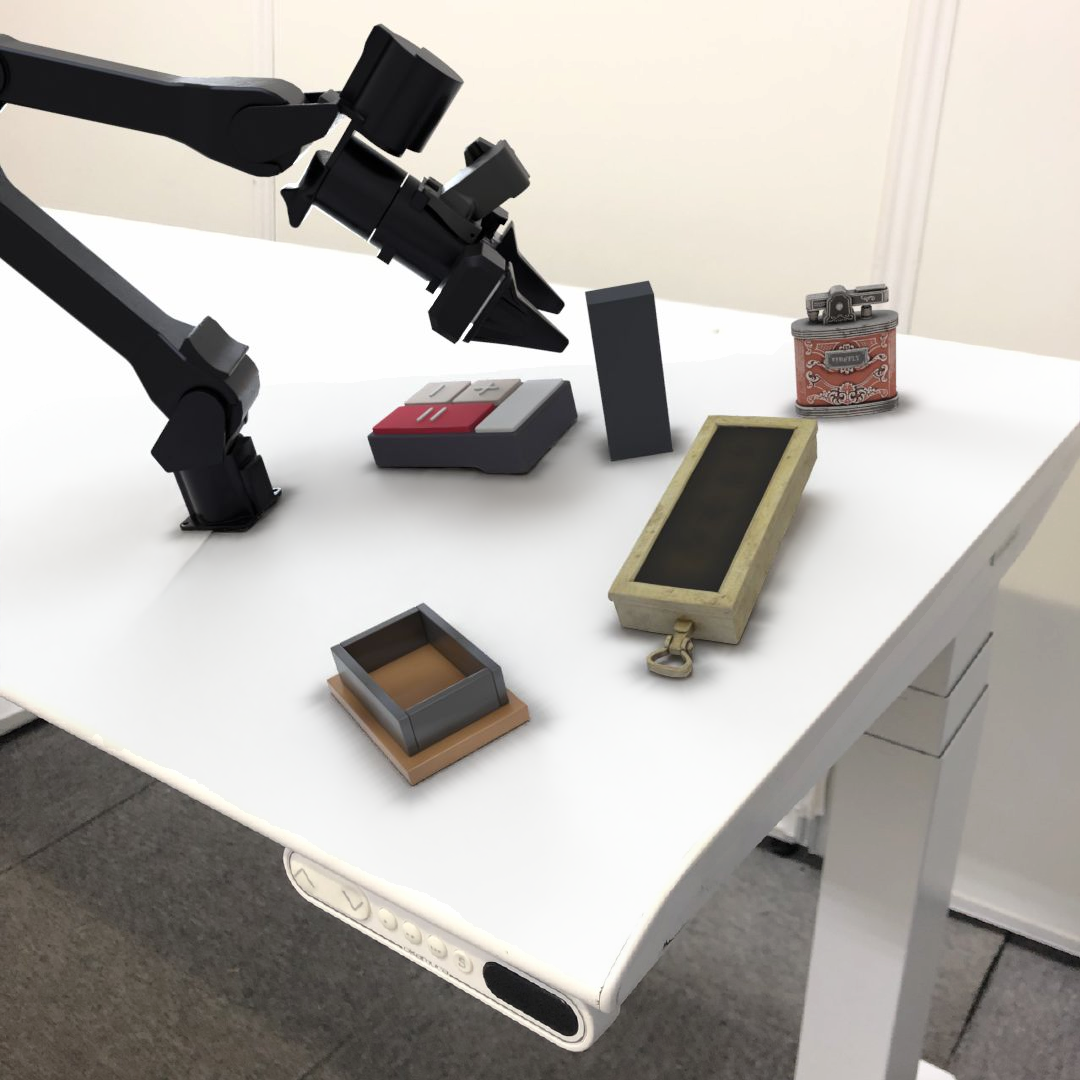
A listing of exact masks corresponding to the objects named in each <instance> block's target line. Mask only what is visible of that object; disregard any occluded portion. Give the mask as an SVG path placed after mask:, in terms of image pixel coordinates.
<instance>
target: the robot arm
mask: <svg viewBox="0 0 1080 1080" xmlns="http://www.w3.org/2000/svg"><path fill="white" fill-rule="evenodd" d="M464 84H465V81H464V79H463V78H462V77H461V76H460V75H459V74H458V73H457V72H456V71H455V70H454V69H453V68H452V67H450V65H448V64H447V63H446V62H445V61H443V60H442V59H441V58H439V56H437V55H435V53H433V52H432V51H431V50H429V49H427V48H426V47H424V46H422V47H419V46H418V45H416V43H413V42H412V41H410V40H409V39H407V38H405V37H403V36H402V35H400V34H398V33H396V32H394V31H392V30H391V29H390V28H389V27H387V26H385V24H383V23H377V24H376V25H373V27H372V29H371V31H370V33H369V34H368V36H367V38H366V39H365V42H364V46H363V49H362V53H361V54H360V57H359V59H358V60H357V62H356V64H355V66H354V68H353V69H352V71H351V73H350V75H349V76H348V78H347V80H346V82H345V84H344V86H343V87H342V89H341V90H335V89H333V88H329V89H328V90H324V91H323V90H322V91H303V90H302V89H301V88H300V87H298V86H297V85H295V83H292V82H290V81H287V80H285V79H283V78H277V77H260V76H259V77H256V76H254V77H253V76H200V77H199V76H180V75H176V74H171V73H167V72H162V71H159V70H158V71H157V70H154V69H149V68H144V67H140V66H134V65H130V64H126V63H121V62H116V61H113V60H107V59H103V58H99V57H94V56H89V55H85V54H80V53H76V52H70V51H67V50H61V49H58V48H54V47H53V48H52V47H48V46H44V45H40V44H34V43H30V42H25V41H21V40H19V39H17V38H14V37H13V36H11V35H8V34H5V33H0V114H1V113H2V112H3V111H4V110H5V109H6V108H7V106H8V105H9V104H10V105H14V106H18V107H24V108H28V109H31V110H37V111H42V112H46V113H51V114H56V115H61V116H65V117H69V118H76V119H79V120H85V121H89V122H94V123H98V124H104V125H109V126H113V127H118V128H123V129H127V130H131V131H137V132H140V133H146V134H150V135H154V136H155V135H156V136H160V137H163V138H168V139H170V140H173V141H175V142H178V143H180V144H183V145H185V146H186V147H188V148H189V149H192V150H193V151H195V152H197V153H198V154H200V155H202V156H203V157H205V158H207V159H209V160H212V161H214V162H217V163H219V164H221V165H224V166H227V167H229V168H232V169H234V170H237V171H239V172H241V173H245V174H247V175H251V176H253V177H257V178H271V177H277V176H279V175H281V174H283V173H284V172H286V171H287V170H289V169H290V168H291V167H293V165H295V164H296V163H297V162H298V161H299V160H300V159H301V158H302V157H304V156H305V155H306V154H307V153H308V151H309V149H310V148H311V146H312V145H313V144H314V142H317V141H319V140H321V139H323V138H325V137H326V136H327V135H328V134H330V133H331V132H332V131H333V130H334V129H335V128H336V127H337V126H338V125H339V124H341V122H343V121H344V120H345V118H348V119H350V122H349V123H348V125H347V126H346V128H345V130H344V132H343V133H342V135H341V137H340V139H339V140H338V143H337V144H336V146H335V147H334V149H333V151H330V150H327V149H323V148H322V149H319V148H318V149H317V150H316V151H315V152H314V154H313V156H312V157H311V159H310V161H309V162H308V164H307V166H306V168H305V170H304V171H303V173H302V176H301V177H300V179H299V180H298V182H292V183H286V184H285V185H284V186H283V187H282V188H281V189H280V191H279V194H280V196H281V198H282V199H283V201H284V203H285V206H286V213H287V217H288V225H289V226H290V227H291V228H293V229H298V228H299V227H301V225H302V224H303V222H305V220H306V219H307V217H309V214H310V213H311V212H312V210H313V208H315V209H317V210H319V211H320V212H321V213H323V214H325V216H328V217H329V218H331V219H332V220H334V221H335V222H336V223H338V224H340V225H341V226H343V227H344V228H346V229H347V230H349V231H350V232H352V233H353V234H355V235H356V236H358V237H359V238H361V239H362V240H364V241H365V242H367V243H368V244H370V245H371V246H373V247H374V248H375V249H377V250H379V251H378V253H377V256H376V258H377V259H378V260H380V261H381V262H382V263H384V264H386V265H388V266H389V265H390V263H391V262H392V260H393V261H395V262H397V263H398V264H400V265H402V267H404V268H406V269H407V270H409V271H410V272H412V273H413V274H415V275H417V277H419V278H421V279H422V280H424V281H426V285H425V289H424V290H425V291H427V292H428V293H429V294H431V295H432V296H431V298H430V301H429V305H428V309H427V314H428V319H429V324H430V327H431V330H432V331H433V332H435V333H436V334H438V335H439V336H441V337H443V338H444V339H445V340H447V341H449V342H450V343H452V344H453V345H456V344H457V343H458V342H459V341H460V339H461V342H463V343H466V344H469V343H471V342H476V343H486V344H487V343H488V344H496V345H502V346H503V345H504V346H512V347H518V348H525V349H532V350H537V351H538V350H539V351H545V352H551V353H555V354H556V353H557V354H561V353H563V352H564V351H566V349H567V347H568V346H569V344H570V340H569V338H568V337H567V336H566V335H565V334H564V333H563V332H562V331H561V330H560V329H559V328H558V327H557V326H556V325H555V324H554V323H553V322H551V321H550V320H549V319H548V318H547V317H546V316H545V315H544V314H543V313H542V312H546V313H549V314H553V315H560V313H561V312H562V311H563V309H564V308H565V306H566V303H565V301H564V300H563V299H562V297H561V296H560V295H559V294H558V293H557V291H555V289H553V288H552V286H551V285H550V284H549V283H548V282H547V281H546V279H544V278H543V276H542V275H541V274H540V273H539V272H538V271H537V269H535V268H534V266H533V265H532V264H531V263H530V262H529V260H527V258H526V257H525V256H524V255H523V254H522V252H521V251H520V249H519V246H518V239H517V234H516V228H515V227H516V226H515V222H514V220H513V219H511V220H510V221H509V212H508V211H507V210H506V209H505V208H503V207H501V205H503V204H504V203H505V202H507V201H508V200H510V199H516V198H517V197H518V196H520V195H521V194H522V193H524V192H525V191H526V190H527V189H528V188H529V187H530V185H531V181H530V178H531V175H530V173H529V172H528V170H527V169H526V167H525V166H524V165H523V163H522V162H521V160H520V158H519V157H518V156H517V154H516V151H515V149H514V148H512V147H511V145H510V144H509V143H508V141H507V140H506V139H500V140H498V141H497V142H496V144H494V143H492V142H491V141H490V140H487V139H485V138H483V137H482V136H478V137H477V138H476V139H474V141H472V142H471V143H470V144H467V146H466V147H464V150H463V157H464V162H465V167H464V168H462V169H460V170H459V171H458V172H457V173H456V175H455V176H453V177H452V178H451V179H450V180H448V181H447V182H446V183H444V184H443V183H441V182H440V181H439V180H437V179H435V178H434V177H433V176H428V177H427V178H426V177H425V176H423V177H422V178H421V180H420V179H418V178H417V177H415V176H414V175H412V173H411V174H410V173H409V172H408V171H406V170H405V169H404V168H402V167H400V166H399V165H397V164H396V163H395V162H393V161H392V160H391V159H389V158H387V157H386V156H385V155H383V154H382V153H380V152H379V151H377V150H376V149H375V148H374V147H372V146H370V145H369V144H368V143H366V142H364V140H362V139H360V138H359V137H357V136H356V135H355V134H356V133H358V134H360V135H361V136H362V137H364V138H365V139H366V140H367V141H368V142H370V143H371V144H372V145H374V146H375V147H376V148H378V149H380V150H382V151H383V152H385V153H387V154H388V155H391V156H393V157H395V158H399V159H401V158H402V157H403V155H404V154H405V152H406V151H407V150H408V151H411V152H413V153H416V154H421V153H423V151H424V150H425V148H426V146H427V145H428V143H429V141H430V140H431V138H432V136H433V135H434V133H435V131H436V130H437V128H438V126H439V125H440V123H441V121H442V120H443V118H444V117H445V115H446V113H447V112H448V110H449V108H450V106H451V105H452V103H453V101H454V100H455V98H456V97H457V95H458V93H459V92H460V90H461V89H462V88H463V85H464ZM508 221H509V222H508ZM507 222H508V223H507ZM506 224H507V225H506ZM505 225H506V227H505V228H504V230H503V231H502V233H500V232H498V229H499V228H500V226H505ZM0 260H2V261H3V262H4V263H5V264H7V265H8V266H9V267H10V268H12V269H13V270H14V271H15V272H16V273H18V275H20V276H21V277H22V278H24V279H25V280H26V281H27V282H29V283H30V284H31V285H33V286H34V287H35V288H36V289H37V290H39V291H40V292H41V293H43V294H44V295H45V296H46V297H48V298H49V299H50V300H51V301H52V302H53V303H55V304H56V305H57V306H59V307H60V308H61V309H62V310H64V311H65V312H66V313H67V314H69V315H70V316H71V318H74V320H76V321H77V322H78V323H80V325H82V326H83V327H85V328H86V329H87V330H89V332H90V333H92V334H93V335H94V336H96V337H97V338H98V339H99V340H101V341H102V342H103V343H104V344H105V345H107V346H108V347H109V348H110V349H112V350H113V351H114V352H116V353H117V354H118V355H120V356H121V357H122V359H124V360H126V362H128V363H129V365H130V366H131V368H132V369H133V371H134V373H135V375H136V377H137V378H138V380H139V382H140V384H141V385H142V387H143V388H144V391H145V393H146V394H147V397H148V398H149V400H150V401H151V402H152V403H153V404H154V405H155V407H156V408H157V409H158V410H159V411H160V412H161V413H162V415H164V417H166V419H168V421H167V422H166V424H165V426H164V427H163V429H162V431H161V432H160V434H159V436H158V438H157V439H156V441H155V443H154V444H153V446H152V447H151V448H150V449H151V450H150V454H151V456H152V458H153V459H154V460H155V461H156V462H157V463H158V464H159V466H160V467H161V468H162V470H163V471H164V472H166V474H171V473H173V476H174V478H175V481H176V484H177V486H178V489H179V491H180V494H181V496H182V500H183V502H184V504H185V507H186V509H187V512H188V516H187V517H186V519H184V520H183V521H182V522H181V523H180V524H179V528H180V531H182V532H216V531H217V532H224V531H226V532H227V531H228V532H230V531H231V532H232V531H233V532H235V531H237V532H238V531H239V532H240V531H246V530H248V529H249V528H250V527H251V526H252V525H253V524H254V523H255V522H256V521H257V520H258V519H259V518H260V517H261V516H262V515H263V514H264V513H265V512H266V511H267V510H268V509H270V507H271V506H272V505H273V504H274V503H275V502H276V501H277V500H278V499H279V498H280V497H281V496H282V495H283V491H282V488H281V487H273V485H272V482H271V479H270V476H269V474H268V470H267V468H266V465H265V462H264V459H263V456H262V455H261V454H259V453H257V450H256V447H255V444H254V441H253V438H252V436H251V435H244V434H243V433H241V431H242V429H243V428H244V426H245V425H246V424H247V423H248V422H249V411H250V409H251V408H252V406H253V405H254V403H255V401H256V399H257V398H258V397H259V394H260V388H261V379H260V374H259V373H260V371H259V368H258V367H257V364H256V362H255V361H254V360H253V359H252V358H251V357H250V356H249V355H248V354H247V353H248V351H249V350H250V346H249V345H247V344H245V343H243V342H240V341H238V340H236V339H235V338H233V337H232V336H231V335H230V334H229V333H228V332H227V331H226V330H225V329H224V328H223V327H222V326H221V324H219V322H218V321H217V320H216V319H214V318H213V317H212V316H211V315H209V314H206V315H205V316H203V318H202V319H201V320H200V321H199V322H198V323H197V324H196V325H194V324H190V323H188V322H184V321H182V320H179V319H176V318H175V317H172V316H171V315H170V314H168V313H166V312H165V311H164V310H163V309H161V307H159V306H158V305H157V304H156V303H155V302H153V300H151V299H150V298H149V297H148V296H146V295H145V294H144V293H142V291H140V290H139V289H138V288H137V287H135V286H134V285H133V284H132V283H131V282H130V281H129V280H127V279H126V278H125V277H123V276H122V275H121V274H120V273H119V272H118V271H116V270H115V269H114V268H113V267H111V265H110V264H108V263H107V262H105V260H104V259H102V258H101V257H100V256H99V255H97V254H96V253H95V252H94V251H93V250H92V249H90V248H89V247H88V246H87V245H86V244H84V243H83V242H82V241H80V239H79V238H78V237H76V236H75V235H74V234H72V233H71V232H70V231H69V230H67V229H66V228H65V227H64V226H63V225H62V224H60V223H59V221H57V220H56V219H55V218H53V216H51V215H50V214H49V213H47V212H46V211H45V210H44V209H43V208H41V206H39V205H38V204H37V203H35V202H34V201H33V200H32V199H30V197H28V196H27V194H24V192H22V191H21V190H20V189H19V188H18V187H16V186H15V184H13V182H12V181H11V180H10V179H9V177H8V176H7V174H6V172H5V171H4V169H3V167H2V165H1V164H0ZM541 311H542V312H541Z"/></svg>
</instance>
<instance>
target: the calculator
mask: <svg viewBox="0 0 1080 1080" xmlns="http://www.w3.org/2000/svg"><path fill="white" fill-rule="evenodd" d="M577 419H578V411H577V406H576V401H575V396H574V392H573V388H572V383H571V380H568V379H567V380H566V379H565V380H564V379H563V378H543V379H528V380H525V381H522V379H521V378H517V377H516V378H498V379H478V380H475V381H474V382H473V383H472V381H471V380H457V381H456V380H455V381H454V380H453V381H435V382H434V381H433V382H428V383H427V384H425V385H424V386H423V387H421V388H420V389H419V390H418V391H417V392H415V393H414V394H412V395H411V396H410V397H409V398H407V400H405V401H404V402H403V405H400V406H398V407H396V408H395V409H394V410H393V411H392V412H390V413H389V414H387V415H386V416H385V417H383V418H382V419H381V420H380V421H378V422H377V423H376V424H375V425H373V427H372V429H371V430H372V431H371V432H370V433H369V434H367V437H366V438H367V441H368V443H369V447H370V450H371V454H372V456H373V459H374V463H375V465H376V467H378V468H477V469H479V470H481V471H483V472H484V473H486V474H525V473H528V472H529V471H530V470H531V469H532V467H534V465H535V464H537V462H538V461H539V460H540V459H541V458H542V457H543V456H544V455H545V454H546V453H547V451H548V450H550V448H552V446H553V445H554V444H555V443H556V442H557V441H558V440H559V439H560V438H561V436H562V435H563V434H564V433H565V432H566V431H567V430H568V429H569V428H570V427H571V426H572V424H573V423H575V421H577Z"/></svg>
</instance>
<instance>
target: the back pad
mask: <svg viewBox="0 0 1080 1080" xmlns="http://www.w3.org/2000/svg"><path fill="white" fill-rule="evenodd" d="M584 295H585V302H586V310H587V315H588V316H587V317H588V322H589V328H590V335H591V341H592V348H593V355H594V361H595V368H596V372H597V373H596V375H597V380H598V386H599V387H598V388H599V393H600V399H601V406H602V413H603V420H604V425H605V426H604V427H605V432H606V439H607V445H608V450H609V456H610V457H609V458H610V461H611V462H613V461H619V460H620V461H621V460H625V459H631V458H638V457H644V456H650V455H657V454H661V453H669V452H673V451H674V448H673V441H672V431H671V424H670V416H669V415H670V414H669V407H668V400H667V399H668V397H667V391H666V390H667V389H666V382H665V373H664V366H663V365H664V364H663V357H662V349H661V348H662V347H661V340H660V332H659V325H658V324H659V323H658V316H657V307H656V298H655V293H654V290H653V287H652V284H651V281H650V280H644V281H638V282H633V283H626V284H621V285H613V286H609V287H604V288H598V289H592V290H586V291H584Z"/></svg>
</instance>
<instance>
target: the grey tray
mask: <svg viewBox="0 0 1080 1080" xmlns="http://www.w3.org/2000/svg"><path fill="white" fill-rule="evenodd" d="M329 649H330V652H331V655H332V658H333V661H334V664H335V667H336V670H337V674H335V675H333V676H331V677H329V678H327V679H326V682H327V685H328V689H329V691H330V693H331V694H332V695H333V696H334V698H335V699H336V700H337V701H338V702H339V704H340V705H341V706H342V707H343V708H344V709H345V710H346V711H347V713H348V714H349V715H350V716H351V717H352V718H353V720H354V721H355V722H357V724H358V725H359V726H360V728H361V729H362V730H363V731H364V732H365V733H366V735H367V736H368V737H369V738H370V740H372V741H373V743H374V744H375V745H376V746H377V747H378V748H379V750H380V751H381V752H382V753H383V754H384V755H385V756H386V757H387V759H388V760H389V761H390V763H392V765H393V766H394V767H395V768H396V769H397V770H398V771H399V773H400V774H401V775H402V776H403V777H404V778H405V780H406V781H407V782H408V783H409V784H410V785H411V786H415V785H416V784H418V783H420V782H421V781H423V780H425V779H427V778H428V777H431V776H432V775H434V774H436V773H437V772H439V771H441V770H443V769H444V768H446V767H448V766H450V765H451V764H453V763H455V762H457V761H458V760H460V759H462V758H464V757H465V756H467V755H469V754H471V753H473V752H475V751H476V750H479V749H480V748H481V747H483V746H485V745H487V744H489V743H490V742H492V741H493V740H496V739H497V738H499V737H501V736H502V735H504V734H506V733H508V732H510V731H512V730H513V729H515V728H517V727H518V726H520V725H522V724H524V723H526V722H527V721H529V720H531V716H530V712H529V706H528V705H527V704H526V703H525V702H524V701H523V700H522V699H520V698H519V697H518V696H517V695H516V694H515V693H514V692H512V691H511V690H510V689H509V688H508V687H507V686H506V683H505V678H504V674H503V669H502V666H501V665H499V664H498V663H497V662H496V661H494V660H493V659H492V658H491V657H490V656H489V655H488V654H487V653H486V652H484V651H483V650H481V649H480V648H479V647H478V646H477V645H475V644H474V643H473V642H472V641H471V640H469V639H468V638H467V637H466V636H465V635H464V634H462V633H461V632H459V630H457V628H455V627H454V626H453V625H451V624H450V623H449V622H448V621H446V620H445V619H444V618H443V617H442V616H441V615H439V614H438V613H437V612H436V611H435V610H433V608H431V607H430V606H428V605H427V603H425V602H422V603H419V604H417V605H415V606H413V607H411V608H409V609H407V610H404V611H403V612H400V613H399V614H397V615H394V616H392V617H390V618H388V619H386V620H384V621H382V622H380V623H377V624H376V625H373V626H372V627H370V628H367V629H366V630H364V631H362V632H359V633H357V634H356V635H353V636H351V637H349V638H347V639H345V640H343V641H341V642H339V643H337V644H335V645H333V646H330V648H329Z"/></svg>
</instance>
